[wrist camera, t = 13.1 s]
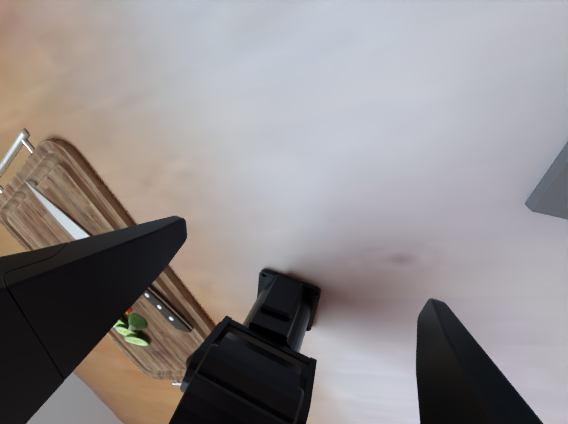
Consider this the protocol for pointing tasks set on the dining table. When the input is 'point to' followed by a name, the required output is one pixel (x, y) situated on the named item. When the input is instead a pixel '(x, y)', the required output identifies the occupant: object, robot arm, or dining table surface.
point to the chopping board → (88, 222)
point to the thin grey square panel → (552, 189)
